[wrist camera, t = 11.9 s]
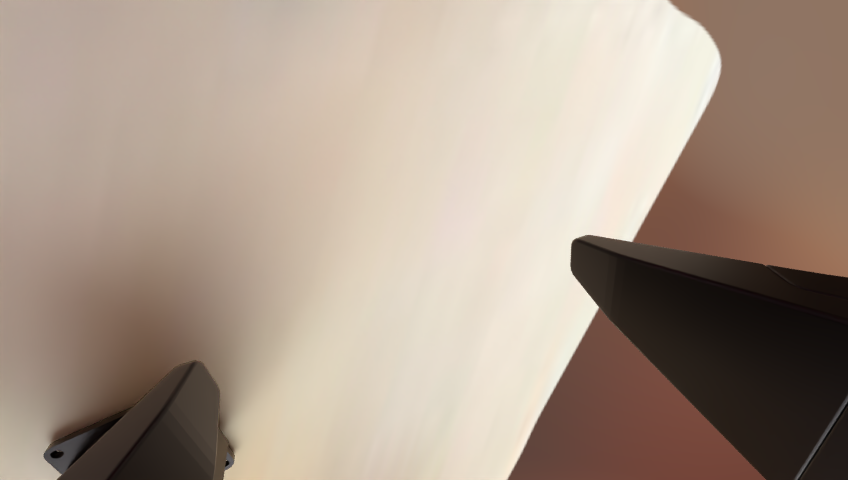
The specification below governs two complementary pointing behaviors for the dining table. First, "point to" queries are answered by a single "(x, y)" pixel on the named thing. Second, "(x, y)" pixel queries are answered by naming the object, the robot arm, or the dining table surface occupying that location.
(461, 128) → the dining table surface
